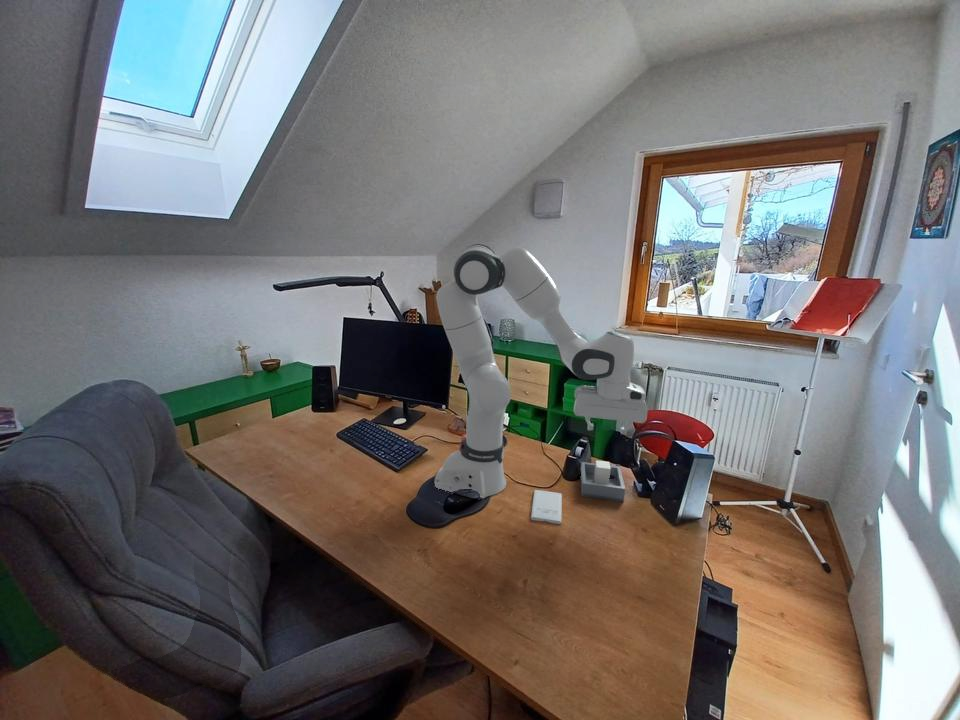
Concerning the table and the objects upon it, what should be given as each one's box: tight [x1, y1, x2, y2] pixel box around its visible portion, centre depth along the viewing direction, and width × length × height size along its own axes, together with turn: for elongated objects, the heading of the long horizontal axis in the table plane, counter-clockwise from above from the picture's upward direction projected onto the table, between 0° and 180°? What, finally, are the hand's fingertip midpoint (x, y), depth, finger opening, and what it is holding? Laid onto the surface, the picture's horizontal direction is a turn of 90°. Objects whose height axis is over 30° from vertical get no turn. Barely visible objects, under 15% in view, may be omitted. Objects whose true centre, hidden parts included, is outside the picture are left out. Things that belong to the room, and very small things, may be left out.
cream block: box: [594, 460, 611, 485], centre depth 119 cm, size 4×4×7 cm
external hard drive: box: [530, 489, 563, 525], centre depth 110 cm, size 2×8×12 cm
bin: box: [579, 461, 626, 503], centre depth 119 cm, size 12×12×4 cm
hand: (606, 431), depth 114 cm, fingers open, 8 cm apart
